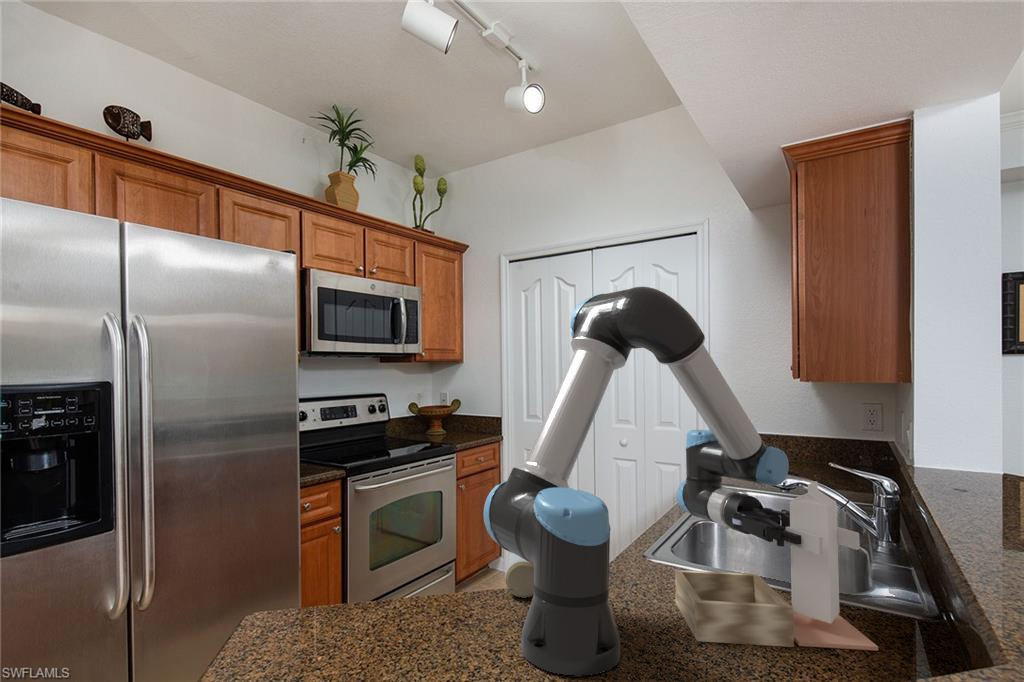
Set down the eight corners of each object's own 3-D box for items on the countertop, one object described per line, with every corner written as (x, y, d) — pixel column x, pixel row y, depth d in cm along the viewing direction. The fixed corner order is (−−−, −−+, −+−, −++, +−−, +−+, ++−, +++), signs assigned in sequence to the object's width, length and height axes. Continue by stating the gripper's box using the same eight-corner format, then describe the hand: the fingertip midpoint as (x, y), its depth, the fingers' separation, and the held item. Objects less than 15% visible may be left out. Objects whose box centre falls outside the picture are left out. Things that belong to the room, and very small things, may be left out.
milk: (791, 613, 89) (787, 482, 91) (801, 602, 94) (797, 478, 96) (832, 624, 85) (827, 487, 87) (840, 613, 90) (835, 483, 92)
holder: (697, 641, 84) (696, 602, 84) (675, 602, 99) (675, 569, 99) (794, 647, 82) (793, 607, 83) (757, 607, 97) (756, 573, 98)
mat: (799, 645, 83) (798, 641, 83) (763, 608, 97) (763, 605, 97) (878, 650, 82) (878, 646, 82) (831, 612, 96) (831, 608, 96)
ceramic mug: (503, 599, 98) (505, 557, 99) (506, 582, 107) (508, 544, 107) (559, 603, 98) (560, 561, 98) (558, 586, 106) (559, 547, 107)
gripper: (774, 526, 111) (883, 560, 89) (695, 533, 104) (793, 573, 82) (774, 490, 111) (882, 516, 90) (695, 495, 104) (792, 524, 83)
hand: (839, 543), depth 86 cm, fingers closed on milk, 8 cm apart
